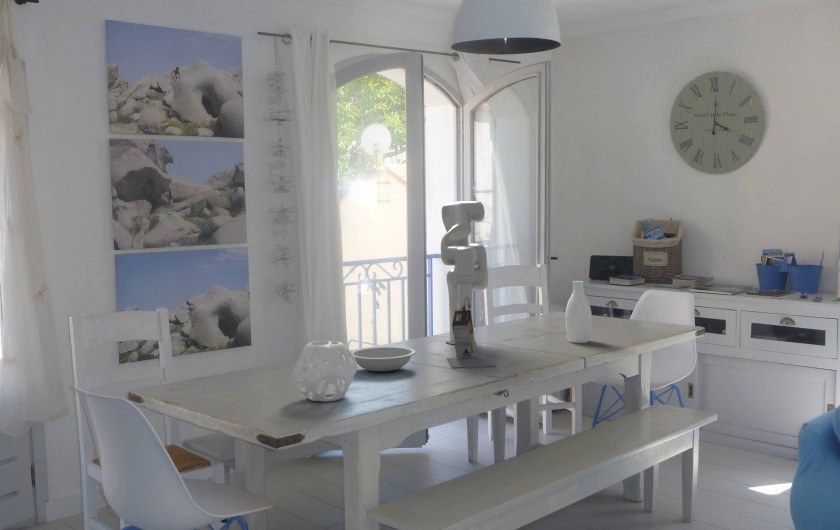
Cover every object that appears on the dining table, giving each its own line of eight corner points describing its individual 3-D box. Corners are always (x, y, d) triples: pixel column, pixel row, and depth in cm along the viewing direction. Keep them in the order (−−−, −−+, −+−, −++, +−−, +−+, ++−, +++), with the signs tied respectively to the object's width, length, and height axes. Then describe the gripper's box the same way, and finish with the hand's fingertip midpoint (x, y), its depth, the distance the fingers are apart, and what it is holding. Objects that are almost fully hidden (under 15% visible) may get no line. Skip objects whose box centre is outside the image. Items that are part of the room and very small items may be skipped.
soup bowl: (341, 367, 314) (341, 349, 314) (403, 361, 323) (402, 344, 322) (360, 380, 292) (360, 360, 291) (426, 373, 300) (425, 354, 300)
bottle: (590, 344, 353) (589, 282, 351) (563, 343, 357) (562, 282, 355) (593, 339, 364) (593, 280, 362) (567, 338, 367) (566, 279, 365)
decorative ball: (288, 406, 255) (287, 349, 254) (298, 392, 275) (296, 338, 274) (355, 405, 255) (354, 347, 254) (360, 390, 275) (358, 337, 274)
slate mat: (446, 359, 326) (446, 358, 326) (488, 357, 327) (488, 356, 327) (452, 368, 308) (452, 367, 308) (496, 366, 309) (496, 365, 309)
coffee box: (459, 343, 334) (454, 309, 326) (475, 342, 333) (471, 309, 324) (456, 357, 327) (451, 324, 318) (473, 357, 325) (468, 324, 317)
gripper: (452, 278, 336) (453, 324, 338) (457, 281, 322) (458, 329, 323) (471, 277, 337) (472, 324, 338) (477, 280, 322) (477, 329, 323)
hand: (465, 326), depth 330 cm, fingers closed
